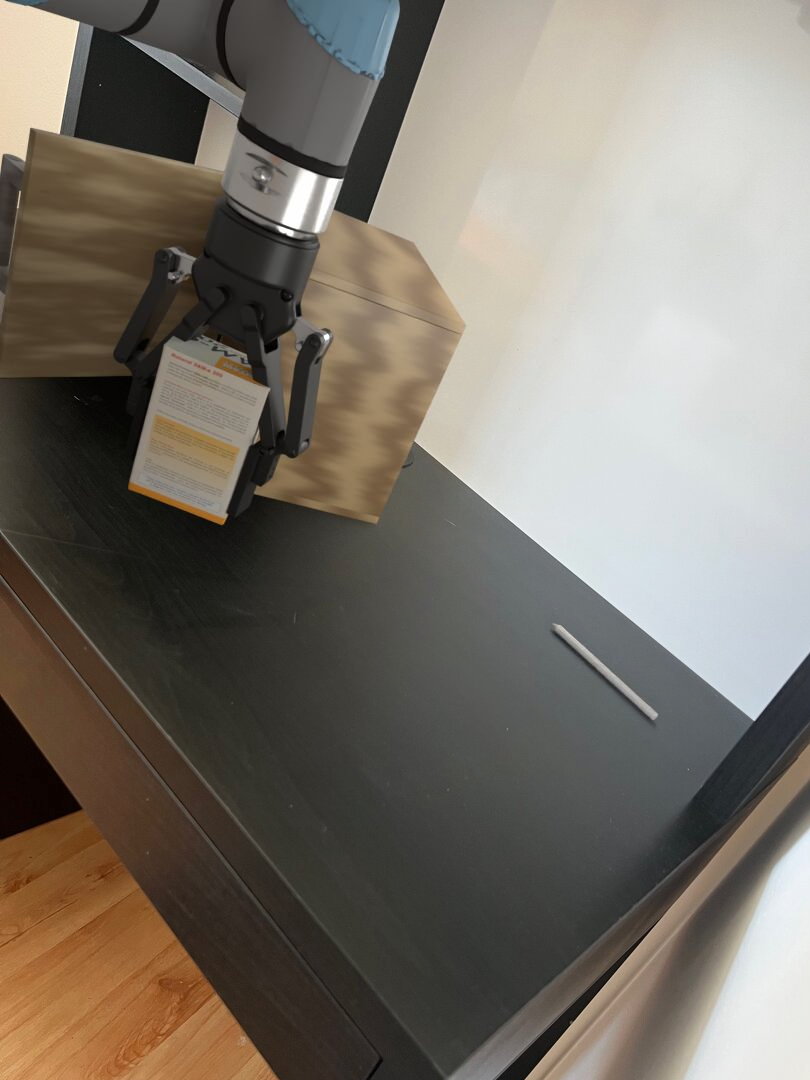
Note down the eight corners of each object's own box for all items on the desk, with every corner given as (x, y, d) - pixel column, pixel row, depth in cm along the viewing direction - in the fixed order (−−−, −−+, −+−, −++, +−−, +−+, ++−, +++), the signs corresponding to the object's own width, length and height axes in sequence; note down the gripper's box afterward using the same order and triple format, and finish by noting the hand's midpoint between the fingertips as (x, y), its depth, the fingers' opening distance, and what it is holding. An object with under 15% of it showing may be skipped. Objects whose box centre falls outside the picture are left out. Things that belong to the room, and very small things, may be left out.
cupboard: (213, 484, 86) (286, 258, 74) (209, 375, 106) (267, 182, 94) (376, 524, 94) (466, 325, 82) (344, 416, 114) (413, 242, 101)
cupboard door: (-42, 337, 88) (-12, 94, 75) (168, 342, 108) (218, 151, 96) (-2, 377, 85) (36, 131, 73) (206, 375, 105) (262, 182, 93)
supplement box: (236, 501, 74) (284, 368, 67) (222, 528, 70) (271, 389, 63) (143, 464, 72) (183, 323, 66) (123, 489, 68) (163, 341, 62)
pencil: (555, 620, 93) (659, 715, 86) (550, 626, 93) (653, 721, 87) (553, 618, 92) (658, 713, 86) (548, 624, 92) (652, 720, 86)
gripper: (102, 138, 56) (43, 430, 67) (391, 299, 56) (282, 563, 67) (164, 139, 62) (100, 406, 74) (422, 284, 62) (318, 528, 74)
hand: (187, 481), depth 70 cm, fingers closed on supplement box, 9 cm apart
